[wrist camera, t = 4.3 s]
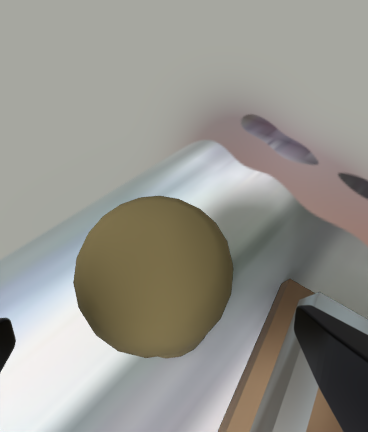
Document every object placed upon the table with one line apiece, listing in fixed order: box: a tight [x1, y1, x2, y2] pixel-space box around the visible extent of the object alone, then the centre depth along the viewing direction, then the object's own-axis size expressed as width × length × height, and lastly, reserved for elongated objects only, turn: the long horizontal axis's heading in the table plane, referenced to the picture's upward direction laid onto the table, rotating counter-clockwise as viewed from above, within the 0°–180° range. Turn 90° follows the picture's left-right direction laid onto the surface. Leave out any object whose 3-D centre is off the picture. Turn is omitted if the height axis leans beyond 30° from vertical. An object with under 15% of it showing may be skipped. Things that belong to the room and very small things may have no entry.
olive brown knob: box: [73, 196, 233, 358], centre depth 11 cm, size 6×6×11 cm
